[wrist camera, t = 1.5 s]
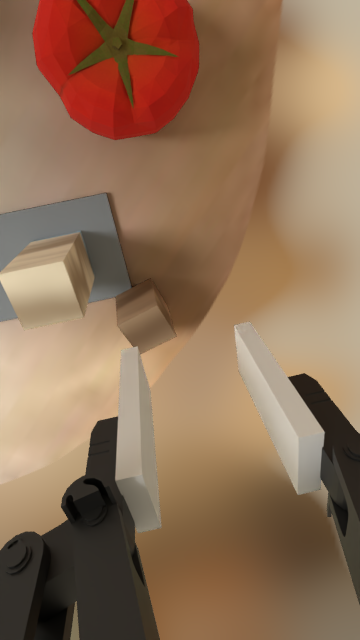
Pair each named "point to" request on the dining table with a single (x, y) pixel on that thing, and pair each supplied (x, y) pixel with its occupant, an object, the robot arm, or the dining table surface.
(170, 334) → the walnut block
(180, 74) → the tomato
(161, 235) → the dining table surface
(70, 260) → the birch block
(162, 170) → the dining table surface
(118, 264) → the rubber mat
